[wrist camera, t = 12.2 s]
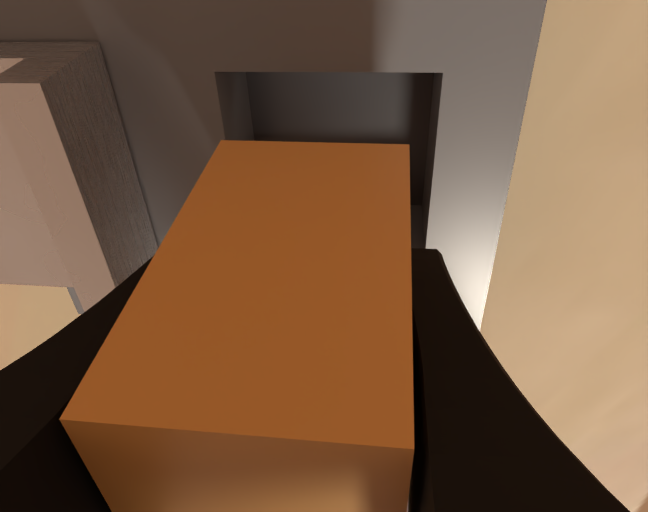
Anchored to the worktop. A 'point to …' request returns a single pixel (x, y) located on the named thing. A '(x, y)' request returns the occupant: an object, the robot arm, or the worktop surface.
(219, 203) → the plug
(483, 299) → the socket board
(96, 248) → the plate
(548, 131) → the worktop surface
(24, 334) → the worktop surface
